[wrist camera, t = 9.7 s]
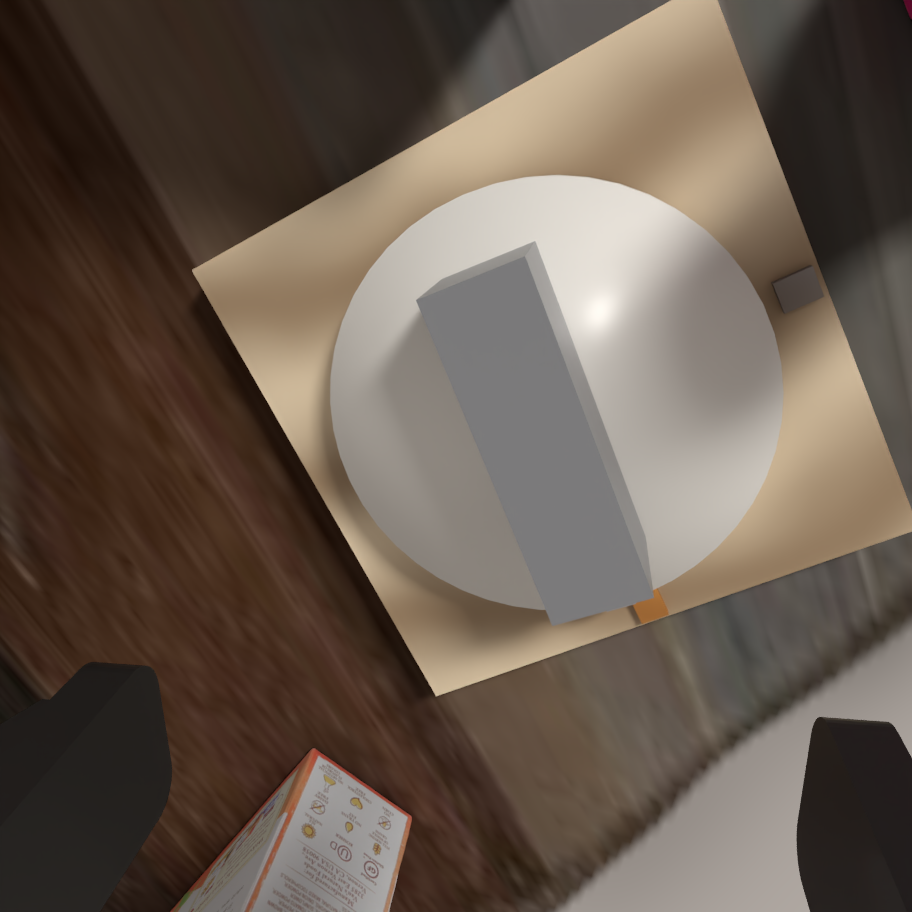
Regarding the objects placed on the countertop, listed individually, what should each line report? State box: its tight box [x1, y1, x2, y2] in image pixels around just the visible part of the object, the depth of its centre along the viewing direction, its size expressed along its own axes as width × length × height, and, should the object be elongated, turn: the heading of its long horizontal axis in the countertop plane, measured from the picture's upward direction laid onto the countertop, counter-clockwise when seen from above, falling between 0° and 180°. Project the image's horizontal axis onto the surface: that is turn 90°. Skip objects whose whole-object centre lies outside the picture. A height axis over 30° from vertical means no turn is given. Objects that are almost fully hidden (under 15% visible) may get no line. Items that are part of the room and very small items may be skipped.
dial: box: [330, 175, 784, 626], centre depth 25 cm, size 14×14×6 cm
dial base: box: [192, 0, 912, 696], centre depth 29 cm, size 18×18×2 cm
